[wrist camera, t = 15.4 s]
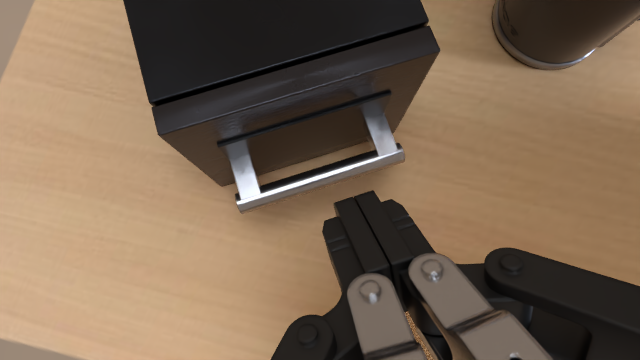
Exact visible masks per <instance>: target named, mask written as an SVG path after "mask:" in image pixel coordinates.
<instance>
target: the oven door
mask: <svg viewBox="0 0 640 360" xmlns="http://www.w3.org/2000/svg"><path fill="white" fill-rule="evenodd" d="M439 52H440V48H439V46H438V44H437V42H436V39H435V37H434V35H433V32H432V30H431V28H430V26H425V27H422V28H419V29H415V30H412V31H408V32H405V33H402V34H398V35H395V36H391V37H388V38H385V39H381V40H378V41H375V42H371V43H368V44H364V45H361V46H358V47H354V48H351V49H347V50H344V51H341V52H337V53H334V54H330V55H327V56H324V57H320V58H317V59H314V60H310V61H307V62H303V63H300V64H297V65H293V66H290V67H286V68H283V69H280V70H276V71H273V72H270V73H266V74H263V75H259V76H256V77H253V78H249V79H246V80H242V81H239V82H236V83H232V84H229V85H225V86H222V87H219V88H215V89H212V90H209V91H205V92H202V93H198V94H195V95H192V96H188V97H185V98H181V99H178V100H175V101H171V102H168V103H164V104H161V105H158V106H154V107H152V112H153V116H154V120H155V124H156V128H157V132H158V135H159V136H160V137H161V138H162V139H164V140H165V141H166V142H167V143H168V144H170V145H171V146H172V147H173V148H175V149H176V150H177V151H178V152H180V153H181V154H182V155H183V156H184V157H186V158H187V159H188V160H189V161H191V162H192V163H193V164H194V165H196V166H197V167H198V168H199V169H200V170H202V171H203V172H204V173H205V174H207V175H208V176H209V177H210V178H211V179H213V180H214V181H215V182H216V183H218V184H219V185H220V186H225V185H229V184H232V183H235V182H236V186H237V189H238V193H237V194H235V199H236V203H237V206H238V209H239V211H240V213H241V214H244V213H247V212H250V211H253V210H257V209H260V208H263V207H266V206H269V205H272V204H275V203H278V202H282V201H285V200H288V199H291V198H294V197H297V196H300V195H303V194H307V193H310V192H313V191H316V190H319V189H322V188H325V187H328V186H332V185H335V184H338V183H341V182H344V181H347V180H350V179H353V178H356V177H360V176H363V175H366V174H369V173H372V172H375V171H378V170H381V169H385V168H388V167H391V166H394V165H397V164H400V163H403V162H405V154H404V151H403V148H402V146H401V145H400V143H396V142H395V140H394V137H393V134H392V133H394V132H395V130H396V128H397V126H398V125H399V123H400V121H401V119H402V118H403V116H404V114H405V112H406V110H407V109H408V107H409V105H410V103H411V102H412V100H413V98H414V96H415V95H416V93H417V91H418V89H419V87H420V86H421V84H422V82H423V80H424V79H425V77H426V75H427V73H428V72H429V70H430V68H431V66H432V64H433V63H434V61H435V59H436V57H437V56H438V54H439ZM366 141H368V142H369V144H370V147H371V150H372V151H369V152H366V153H363V154H360V155H357V156H354V157H350V158H347V159H344V160H341V161H338V162H335V163H331V164H328V165H325V166H322V167H319V168H316V169H312V170H309V171H306V172H303V173H300V174H297V175H294V176H290V177H287V178H284V179H281V180H278V181H275V182H271V183H268V184H265V185H262V186H261V184H260V181H259V178H258V175H260V174H264V173H267V172H270V171H273V170H276V169H280V168H283V167H286V166H289V165H292V164H295V163H299V162H302V161H305V160H308V159H311V158H315V157H318V156H321V155H324V154H327V153H330V152H334V151H337V150H340V149H343V148H346V147H350V146H353V145H356V144H359V143H362V142H366Z"/></svg>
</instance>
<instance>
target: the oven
mask: <svg viewBox="0 0 640 360" xmlns="http://www.w3.org/2000/svg"><path fill="white" fill-rule="evenodd" d="M123 1H124V5H125V9H126V13H127V17H128V21H129V25H130V29H131V33H132V37H133V41H134V45H135V49H136V53H137V57H138V61H139V65H140V69H141V73H142V76H143V80H144V84H145V88H146V92H147V96H148V100H149V103H150V104H151V105H152V106H153V107H154V106H158V105H161V104H164V103H168V102H171V101H175V100H178V99H181V98H185V97H188V96H192V95H195V94H198V93H202V92H205V91H209V90H212V89H215V88H219V87H222V86H225V85H229V84H232V83H236V82H239V81H242V80H246V79H249V78H253V77H256V76H259V75H263V74H266V73H270V72H273V71H276V70H280V69H283V68H286V67H290V66H293V65H297V64H300V63H303V62H307V61H310V60H314V59H317V58H320V57H324V56H327V55H330V54H334V53H337V52H341V51H344V50H347V49H351V48H354V47H358V46H361V45H364V44H368V43H371V42H375V41H378V40H381V39H385V38H388V37H391V36H395V35H398V34H402V33H405V32H408V31H412V30H415V29H419V28H422V27H425V26H427V24H428V22H429V19H428V17H427V15H426V12H425V10H424V8H423V5H422V3H421V1H420V0H123Z"/></svg>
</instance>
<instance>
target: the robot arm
mask: <svg viewBox="0 0 640 360" xmlns="http://www.w3.org/2000/svg"><path fill="white" fill-rule="evenodd" d="M492 19H493V26H494V30H495V33H496V35H497V37H498V39H499V41H500V42H501V44H502V45H503V47H504V48H505V49H506V50H507V51H508V52H509V53H510V54H511V55H512V56H513V57H515V58H516V59H518V60H519V61H521V62H523V63H525V64H527V65H530V66H532V67H536V68H540V69H547V70H556V69H563V68H567V67H570V66H573V65H575V64H577V63H579V62H580V61H582V60H583V59H584V58H586V57H587V56H588V55H589V54H591V53H592V52H593V51H594V50H595V48H597V47H602V46H604V45H605V44H606V43H608V42H609V41H610V40H612V39H613V38H614V37H615V36H617V35H618V34H619V33H621V32H622V31H623V30H625V29H626V28H627V27H629V26H630V25H631V24H633V23H634V22H635V21H638V20H640V0H496V2H495V4H494V8H493V18H492ZM334 208H335V212H336V216H337V217H334V218H331V219H328V220H325V221H324V226H323V231H322V232H323V236H324V239H325V243H326V246H327V250H328V253H329V257H330V260H331V263H332V266H333V269H334V271H335V274H336V277H337V280H338V282H339V285H340V288H341V291H342V295H341V298H340V300H339V302H338V303H337V305H336V306H335V307H334V308H333V309H332V310H330V311H329V312H328V313H326V314H325V315H323V316H319V315H306V316H302V317H300V318H298V319H297V320H295V321H294V322H293V323H292V324H291V325H290V326H289V327H288V329H287V330H286V332H285V334H284V336H283V338H282V340H281V341H280V343H279V345H278V347H277V349H276V351H275V352H274V354H273V356H272V358H271V360H427V357H426V355H425V353H424V350H423V348H422V346H421V345H420V343H417V342H416V340H415V338H414V335H413V333H412V330H411V328H410V325H409V323H408V320H407V318H406V315H405V313H404V312H407V311H408V312H409V314H410V316H411V318H412V320H413V322H414V324H415V326H416V331H417V333H418V335H419V336H420V338H421V339H422V341H423V343H424V344H425V346H426V348H427V349H428V351H429V352H430V354H431V356H432V357H433V359H434V360H640V286H637V285H634V284H630V283H627V282H624V281H620V280H617V279H614V278H611V277H607V276H604V275H601V274H598V273H594V272H591V271H588V270H584V269H581V268H578V267H575V266H571V265H568V264H565V263H562V262H558V261H555V260H552V259H548V258H545V257H542V256H539V255H535V254H532V253H529V252H526V251H522V250H519V249H515V248H499V249H496V250H493V251H492V252H490V253H489V254H488V255H487V256H486V258H485V263H481V264H455V263H454V262H453V261H452V260H451V259H449V258H448V257H446V256H444V255H441V254H437V253H436V252H435V251H434V250H433V248H432V247H431V245H430V244H429V243H428V241H427V240H426V238H425V237H424V236H423V234H422V233H421V231H420V230H419V228H418V227H417V226H416V225H415V223H414V221H413V220H412V218H411V217H410V216H409V214H408V213H407V211H406V210H405V208H404V207H403V206H402V205H401V204H399V203H397V202H395V201H394V200H392V199H390V200H387V201H384V202H381V201H380V200H379V198H378V197H377V195H376V194H375V192H374V191H373V190H372V191H369V192H366V193H363V194H360V195H357V196H354V198H353V197H350V198H347V199H344V200H341V201H338V202H335V203H334Z"/></svg>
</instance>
